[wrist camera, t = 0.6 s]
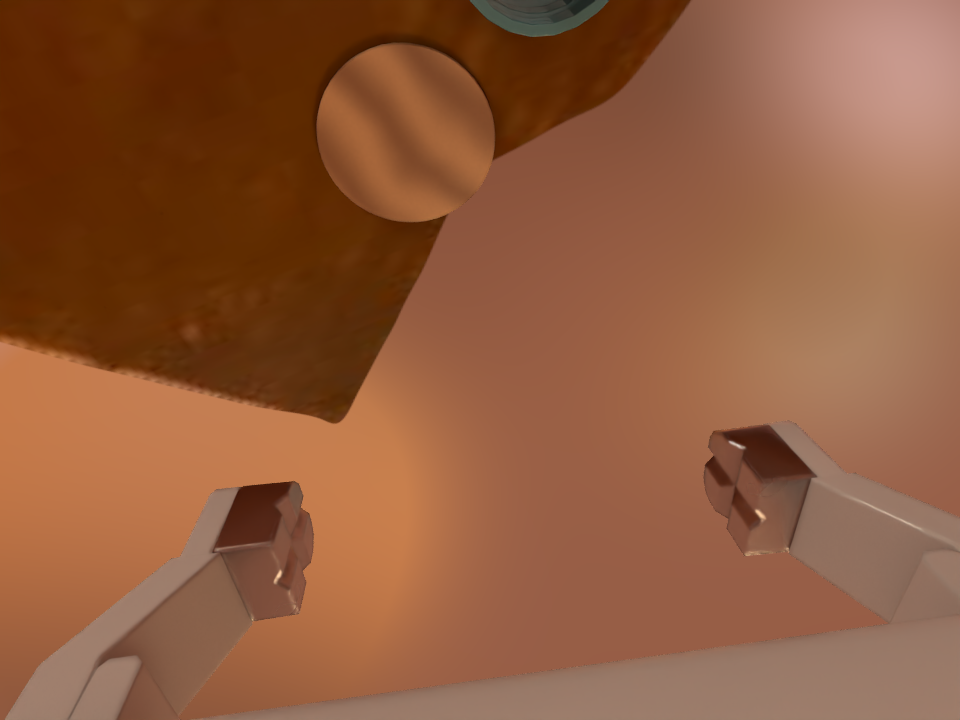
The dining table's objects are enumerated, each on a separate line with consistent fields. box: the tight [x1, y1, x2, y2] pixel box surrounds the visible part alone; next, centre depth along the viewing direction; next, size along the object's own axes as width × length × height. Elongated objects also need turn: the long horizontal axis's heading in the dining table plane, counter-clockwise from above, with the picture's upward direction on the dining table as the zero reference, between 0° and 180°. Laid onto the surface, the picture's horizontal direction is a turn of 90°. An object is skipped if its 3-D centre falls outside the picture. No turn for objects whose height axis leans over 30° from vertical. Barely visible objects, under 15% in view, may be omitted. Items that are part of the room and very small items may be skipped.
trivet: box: [316, 43, 495, 222], centre depth 49 cm, size 16×16×1 cm
